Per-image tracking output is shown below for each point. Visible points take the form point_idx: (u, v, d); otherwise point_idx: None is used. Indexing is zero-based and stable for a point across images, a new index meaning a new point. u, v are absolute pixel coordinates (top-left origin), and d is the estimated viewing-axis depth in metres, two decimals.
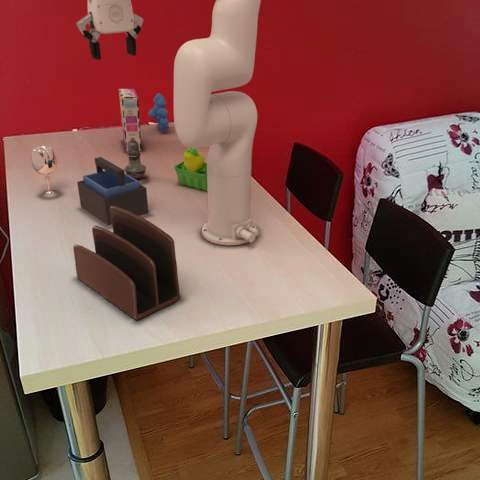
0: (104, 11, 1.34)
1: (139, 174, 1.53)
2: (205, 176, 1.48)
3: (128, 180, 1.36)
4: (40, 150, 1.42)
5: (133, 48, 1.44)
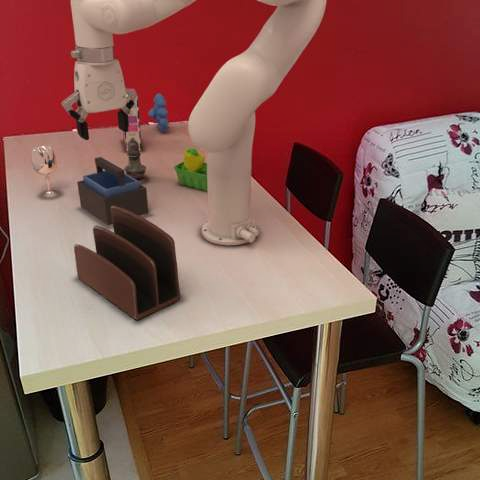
0: (92, 89, 1.20)
1: (139, 174, 1.53)
2: (205, 176, 1.48)
3: (128, 180, 1.36)
4: (40, 150, 1.42)
5: (125, 125, 1.30)
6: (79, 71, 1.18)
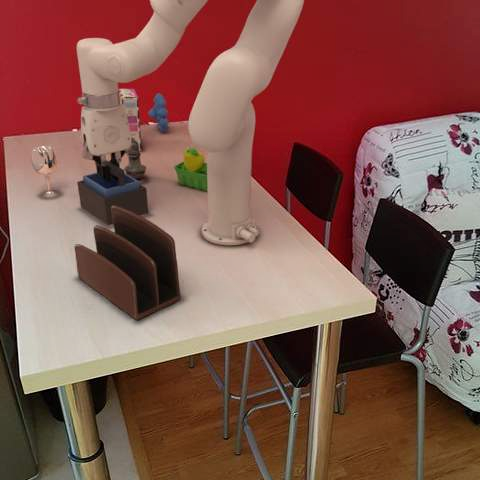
0: (98, 133, 1.25)
1: (139, 174, 1.53)
2: (205, 176, 1.48)
3: (128, 180, 1.36)
4: (40, 150, 1.42)
5: None
6: (86, 117, 1.23)
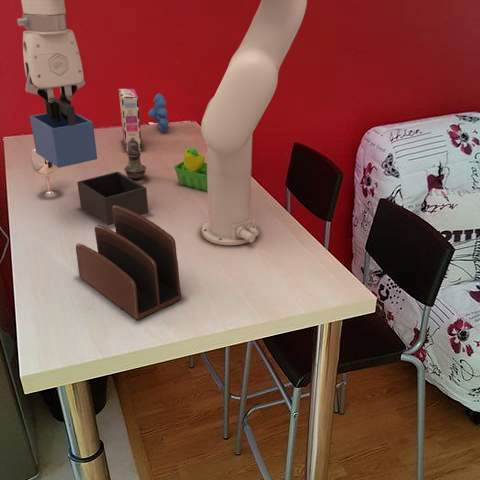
0: (42, 62, 1.09)
1: (139, 174, 1.53)
2: (205, 176, 1.48)
3: (82, 121, 1.20)
4: None
5: None
6: (27, 41, 1.07)
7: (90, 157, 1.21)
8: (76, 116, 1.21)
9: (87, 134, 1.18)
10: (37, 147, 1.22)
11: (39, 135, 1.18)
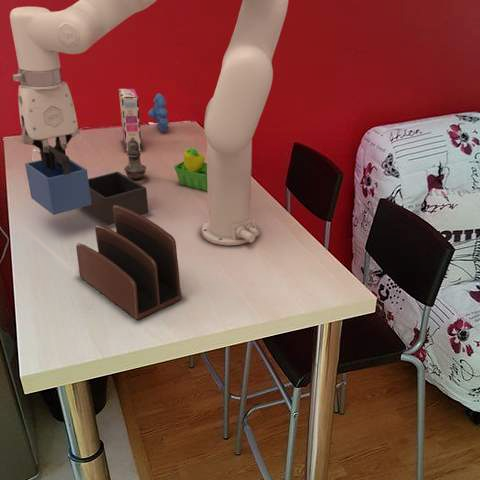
0: (38, 115, 1.12)
1: (139, 174, 1.53)
2: (205, 176, 1.48)
3: (76, 168, 1.23)
4: None
5: None
6: (22, 96, 1.10)
7: (84, 203, 1.23)
8: (70, 163, 1.24)
9: (81, 181, 1.21)
10: (32, 193, 1.24)
11: (35, 182, 1.21)
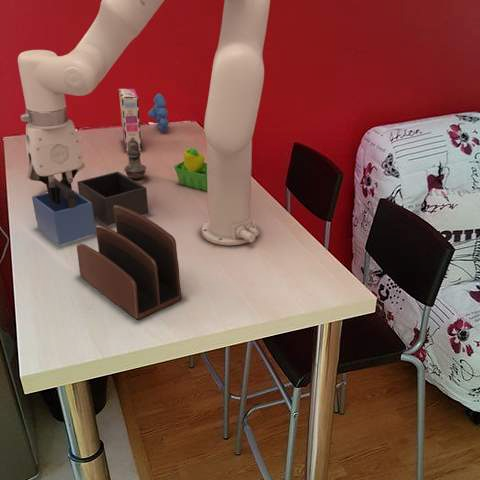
0: (44, 153, 1.16)
1: (139, 174, 1.53)
2: (205, 176, 1.48)
3: (81, 200, 1.27)
4: None
5: None
6: (30, 135, 1.14)
7: (89, 234, 1.27)
8: (76, 195, 1.28)
9: (86, 214, 1.25)
10: (39, 224, 1.28)
11: (41, 215, 1.25)
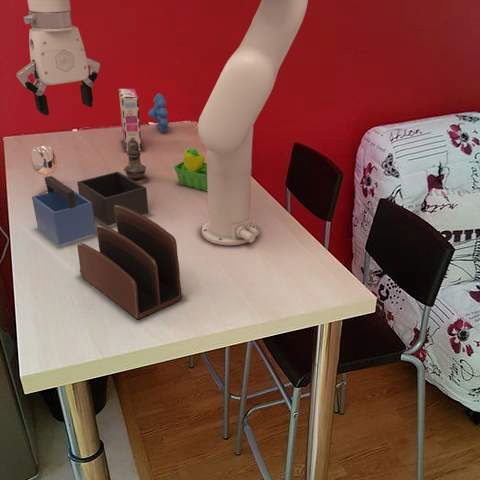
0: (49, 58, 1.11)
1: (139, 174, 1.53)
2: (205, 176, 1.48)
3: (81, 200, 1.27)
4: (40, 150, 1.42)
5: (89, 99, 1.21)
6: (34, 38, 1.09)
7: (89, 234, 1.27)
8: (76, 195, 1.28)
9: (86, 214, 1.25)
10: (39, 224, 1.28)
11: (41, 215, 1.25)
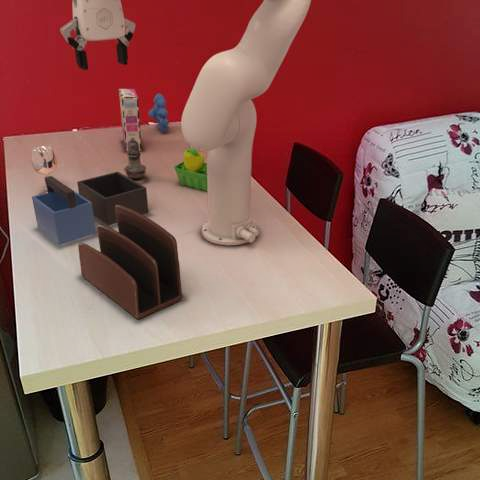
0: (91, 15, 1.20)
1: (139, 174, 1.53)
2: (205, 176, 1.48)
3: (81, 200, 1.27)
4: (40, 150, 1.42)
5: (124, 57, 1.30)
6: None
7: (89, 234, 1.27)
8: (76, 195, 1.28)
9: (86, 214, 1.25)
10: (39, 224, 1.28)
11: (41, 215, 1.25)
